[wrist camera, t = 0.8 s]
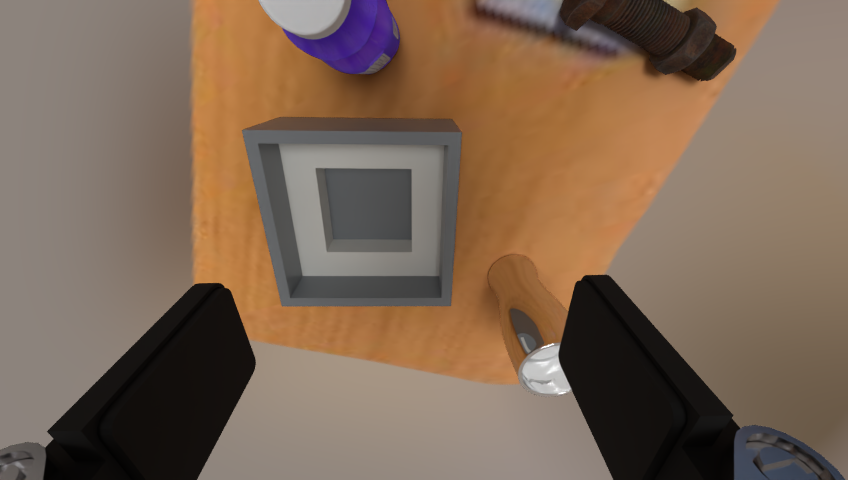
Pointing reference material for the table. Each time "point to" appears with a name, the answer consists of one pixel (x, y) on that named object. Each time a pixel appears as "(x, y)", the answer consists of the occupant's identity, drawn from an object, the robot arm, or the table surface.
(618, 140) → the table surface
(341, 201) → the bore box
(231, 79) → the table surface
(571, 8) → the bolt
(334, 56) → the bottle
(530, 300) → the beer glass
